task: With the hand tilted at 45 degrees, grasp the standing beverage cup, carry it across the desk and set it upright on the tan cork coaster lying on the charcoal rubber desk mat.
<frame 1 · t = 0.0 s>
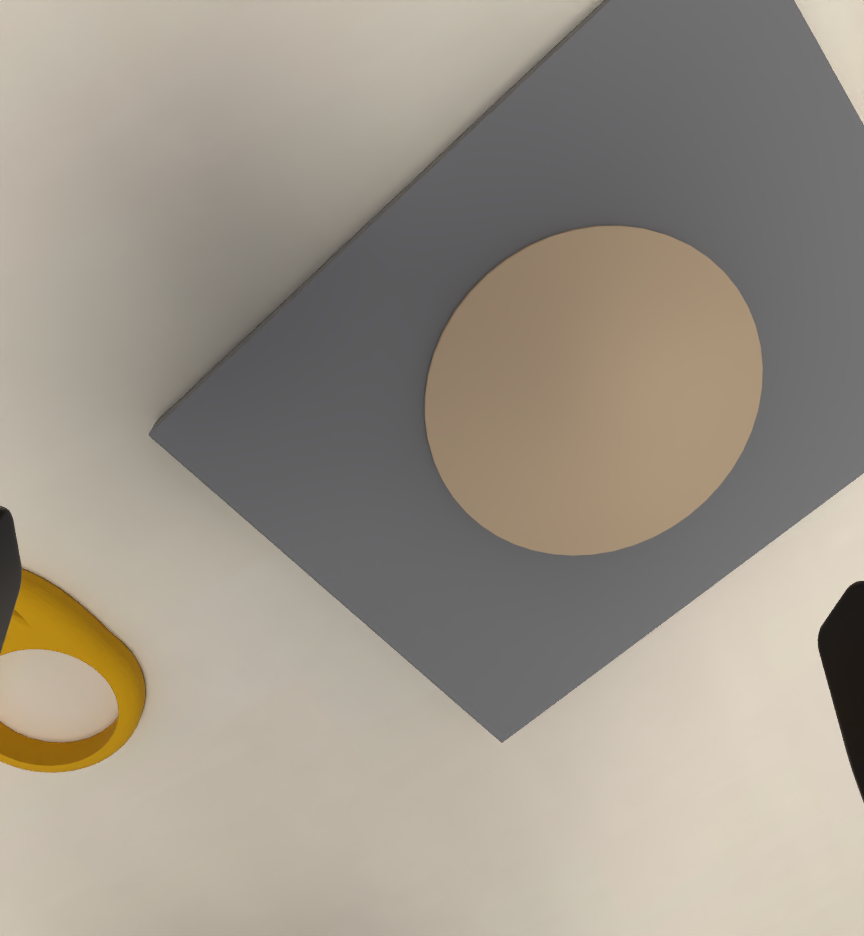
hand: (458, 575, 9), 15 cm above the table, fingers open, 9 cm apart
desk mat: (583, 391, 24), on the table
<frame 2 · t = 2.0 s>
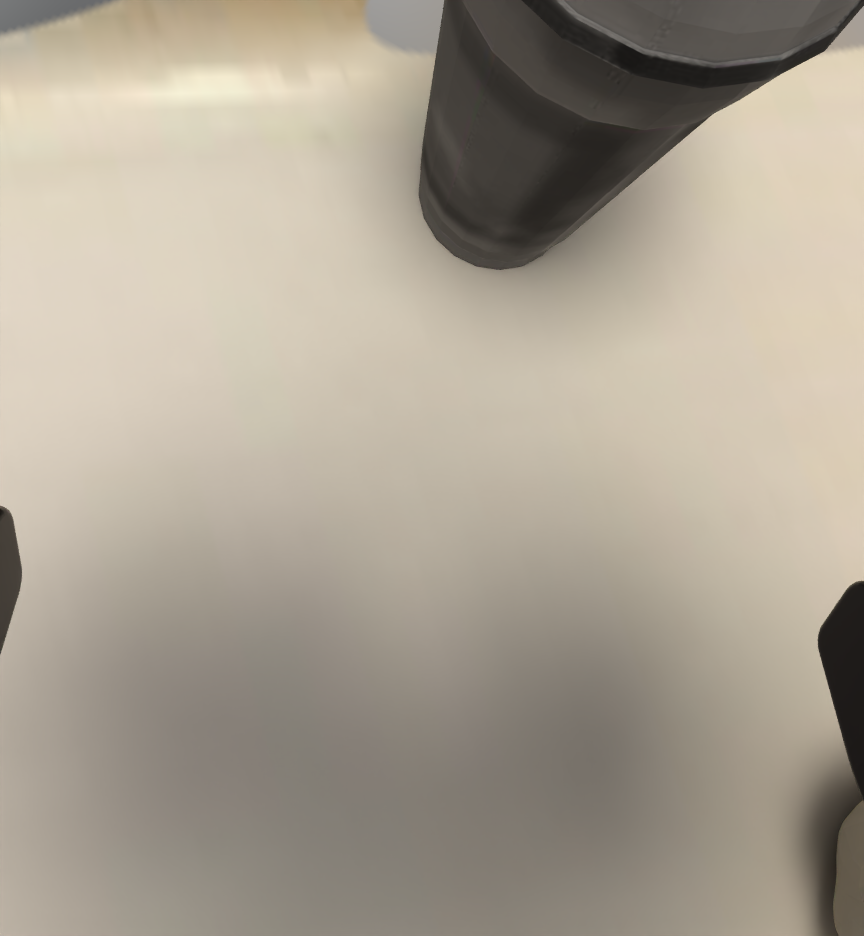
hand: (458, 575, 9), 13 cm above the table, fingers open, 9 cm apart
beverage cup: (492, 198, 24), on the table
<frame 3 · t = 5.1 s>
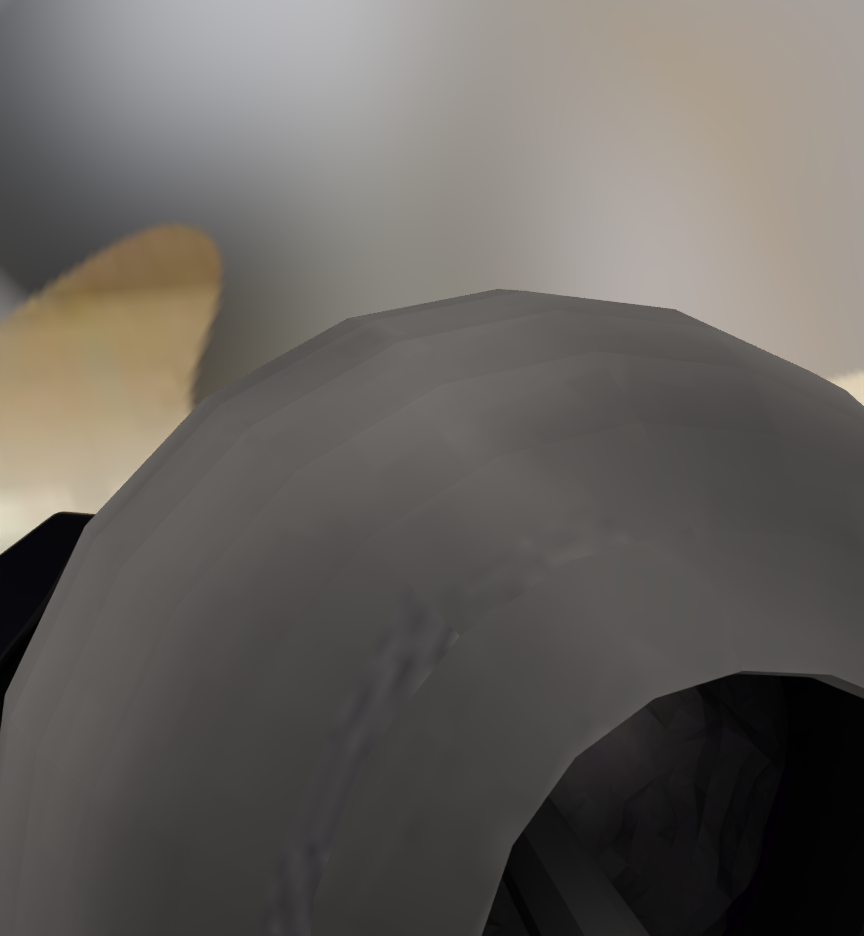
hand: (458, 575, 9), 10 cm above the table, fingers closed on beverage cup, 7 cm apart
beverage cup: (365, 636, 18), on the table, touching gripper
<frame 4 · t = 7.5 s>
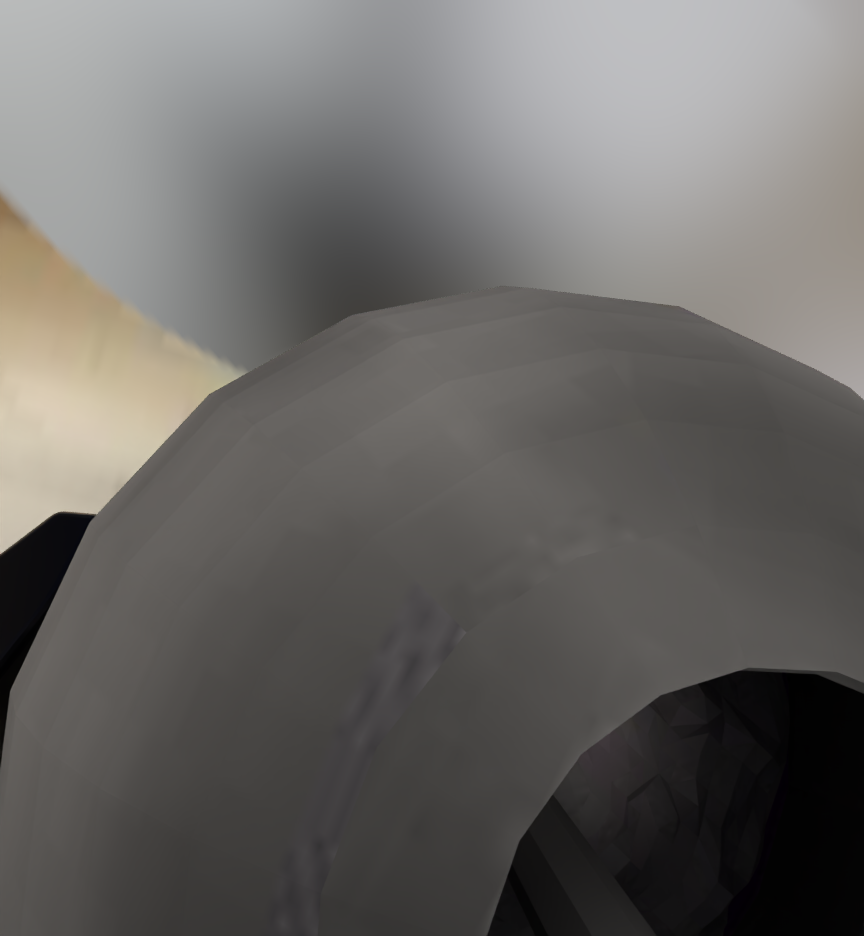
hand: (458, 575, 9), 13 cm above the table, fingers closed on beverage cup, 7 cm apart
beverage cup: (366, 632, 18), point 3 cm above the table, touching gripper
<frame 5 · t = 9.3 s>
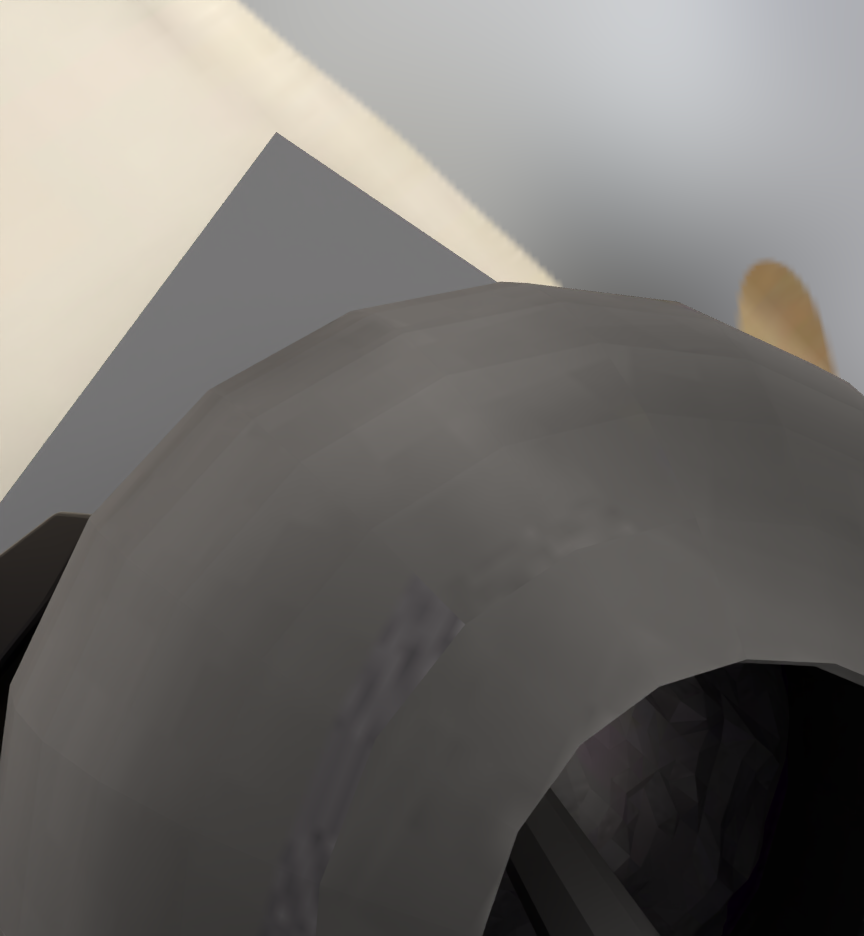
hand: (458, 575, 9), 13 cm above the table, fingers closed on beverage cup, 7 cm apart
beverage cup: (366, 630, 18), point 3 cm above the table, touching gripper
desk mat: (322, 611, 21), on the table
when the fingers open (12 cm above the table, at t = 10.3 s): beverage cup stays where it is, resting on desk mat.
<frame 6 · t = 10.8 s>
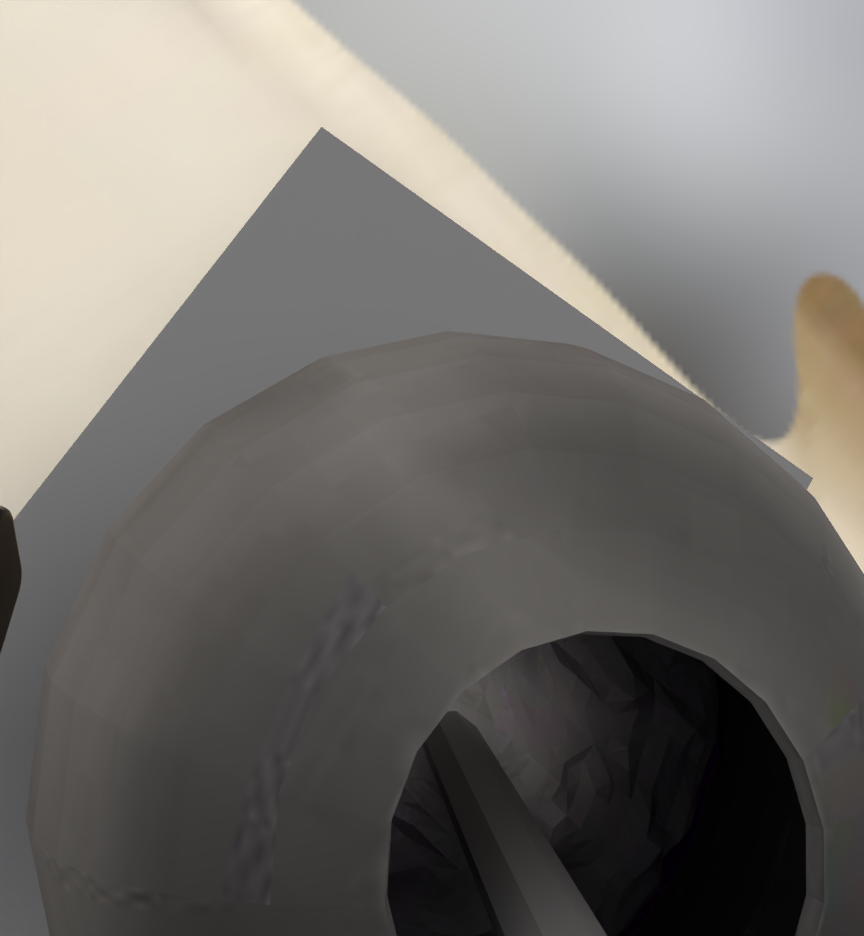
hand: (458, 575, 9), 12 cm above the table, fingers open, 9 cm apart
beverage cup: (360, 632, 19), point 1 cm above the table, touching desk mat
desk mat: (357, 628, 20), on the table
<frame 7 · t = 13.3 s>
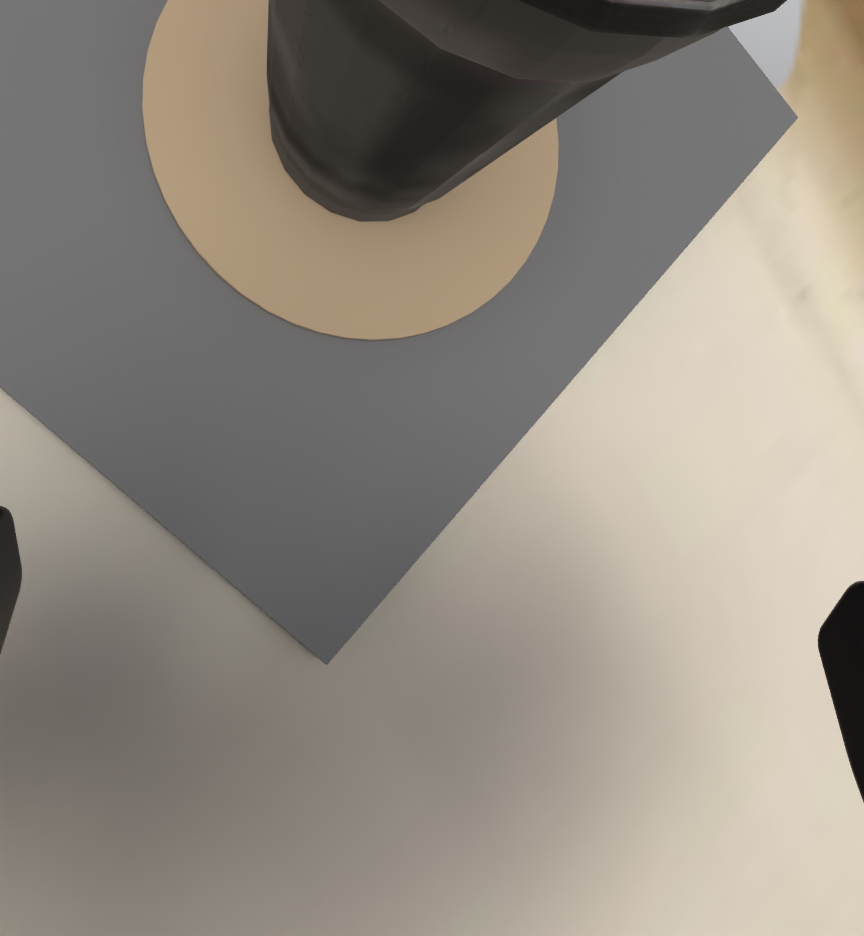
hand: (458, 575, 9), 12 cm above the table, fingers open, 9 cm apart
beverage cup: (363, 130, 19), point 1 cm above the table, touching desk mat
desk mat: (355, 147, 20), on the table
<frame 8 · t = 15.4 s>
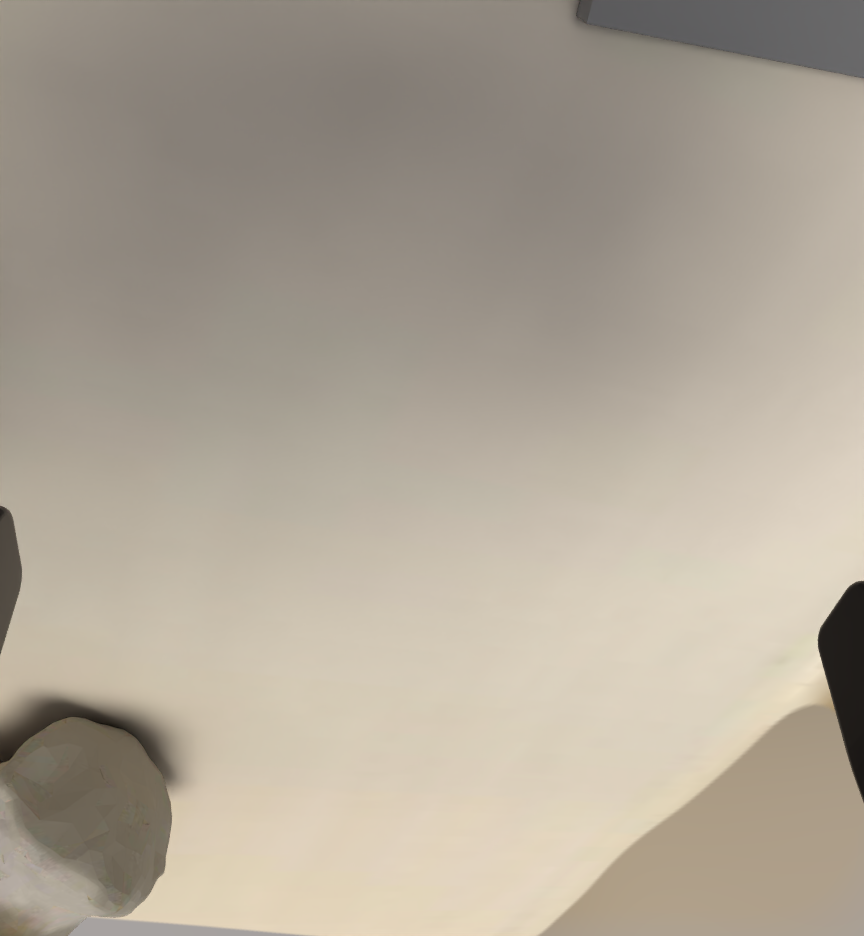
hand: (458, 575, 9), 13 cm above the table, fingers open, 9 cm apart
ceramic sculpture: (30, 771, 33), on the table
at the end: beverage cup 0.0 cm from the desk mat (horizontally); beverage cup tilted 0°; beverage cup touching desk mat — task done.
